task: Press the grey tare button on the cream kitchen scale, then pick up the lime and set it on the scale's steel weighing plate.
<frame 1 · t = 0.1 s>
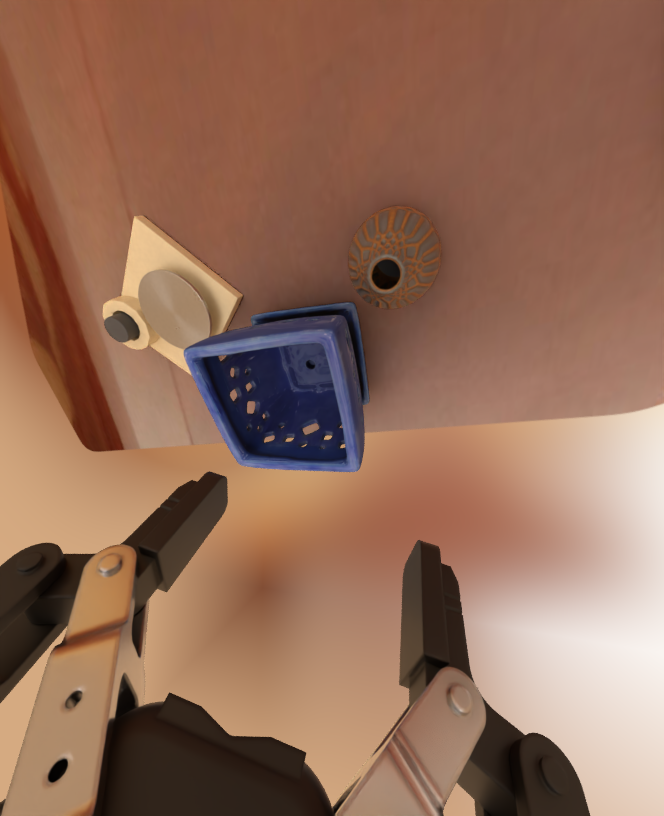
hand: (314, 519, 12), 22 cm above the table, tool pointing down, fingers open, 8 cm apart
scale: (178, 308, 34), on the table
flower pot: (317, 353, 33), on the table
vase: (397, 252, 25), on the table
weighing plate: (176, 311, 31), resting on scale
tare button: (122, 327, 34), point 3 cm above the table, slide at 0.1 cm
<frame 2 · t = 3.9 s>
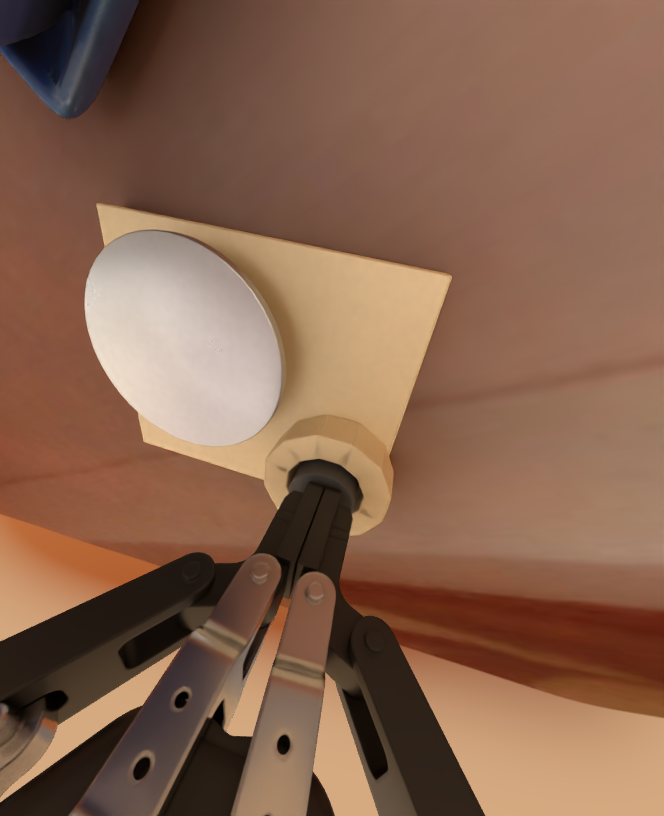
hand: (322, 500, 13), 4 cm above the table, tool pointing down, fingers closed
scale: (264, 373, 15), on the table
weighing plate: (187, 353, 12), resting on scale
tare button: (325, 486, 13), point 3 cm above the table, slide at -0.7 cm, touching gripper
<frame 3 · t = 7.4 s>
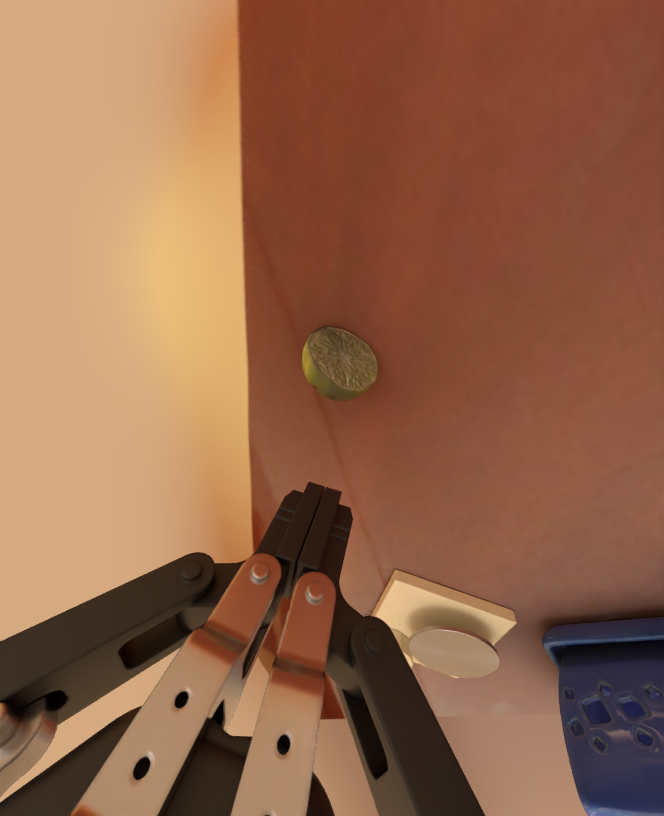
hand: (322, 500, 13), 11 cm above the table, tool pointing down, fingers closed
scale: (428, 622, 33), on the table
flower pot: (619, 645, 28), on the table
lime: (347, 353, 21), on the table
weighing plate: (451, 650, 29), resting on scale
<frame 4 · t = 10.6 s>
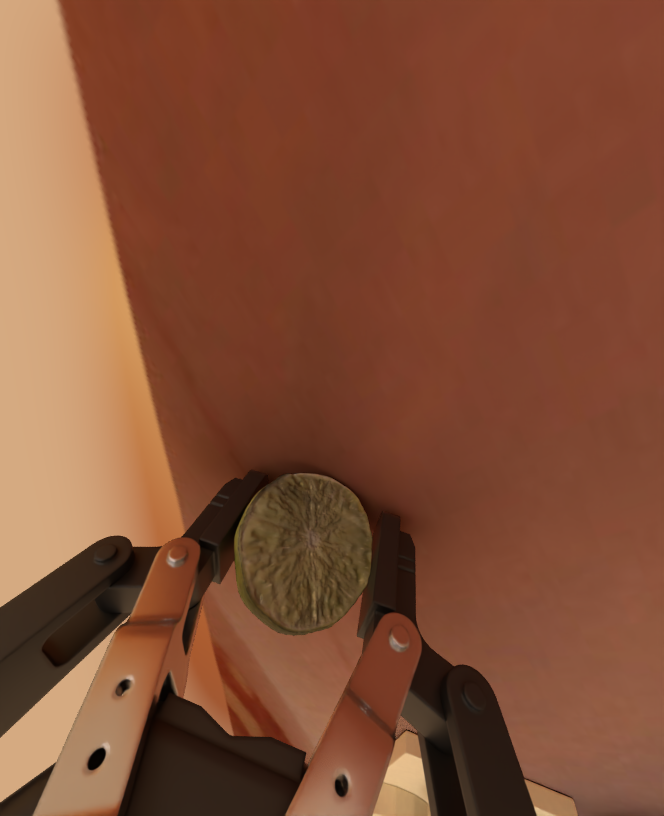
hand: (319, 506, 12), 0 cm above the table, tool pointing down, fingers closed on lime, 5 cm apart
scale: (450, 781, 25), on the table
lime: (323, 496, 13), on the table, touching gripper
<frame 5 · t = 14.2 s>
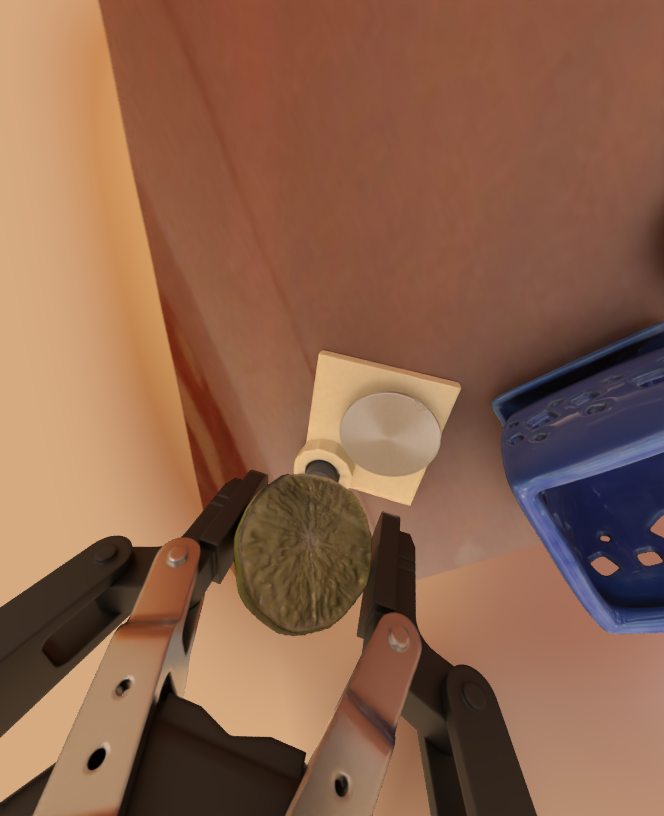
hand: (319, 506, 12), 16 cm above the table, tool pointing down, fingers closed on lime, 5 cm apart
scale: (370, 430, 28), on the table
flower pot: (587, 412, 23), on the table
lime: (323, 496, 13), point 15 cm above the table, touching gripper
weighing plate: (388, 435, 25), resting on scale
tare button: (320, 477, 28), point 3 cm above the table, slide at 0.1 cm
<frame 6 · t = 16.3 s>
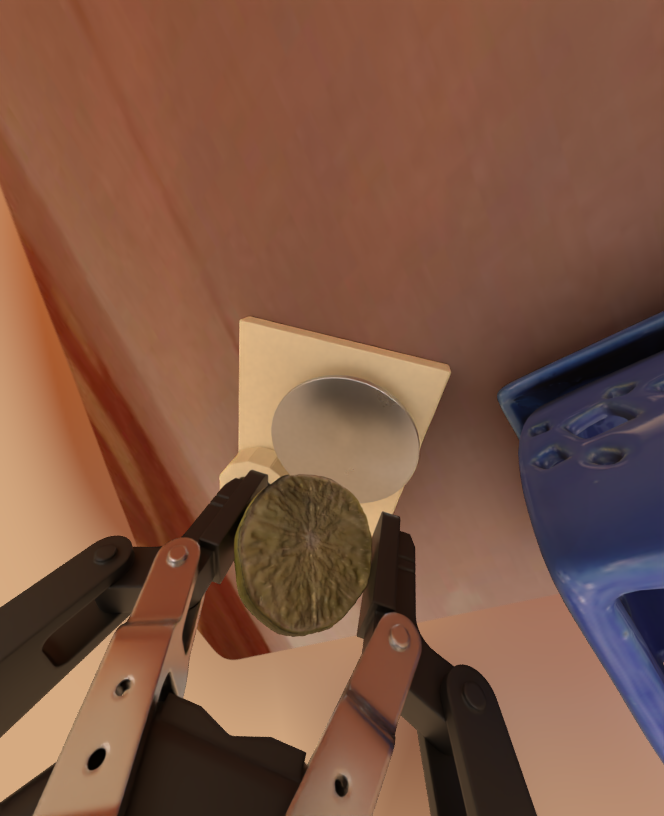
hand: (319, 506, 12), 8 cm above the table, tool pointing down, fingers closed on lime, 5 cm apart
scale: (325, 435, 20), on the table
flower pot: (645, 411, 15), on the table
lime: (323, 497, 13), point 7 cm above the table, touching gripper
weighing plate: (342, 443, 16), resting on scale
when the fingers open (4 cm above the table, at t = 17.7 s): lime stays where it is, resting on weighing plate.
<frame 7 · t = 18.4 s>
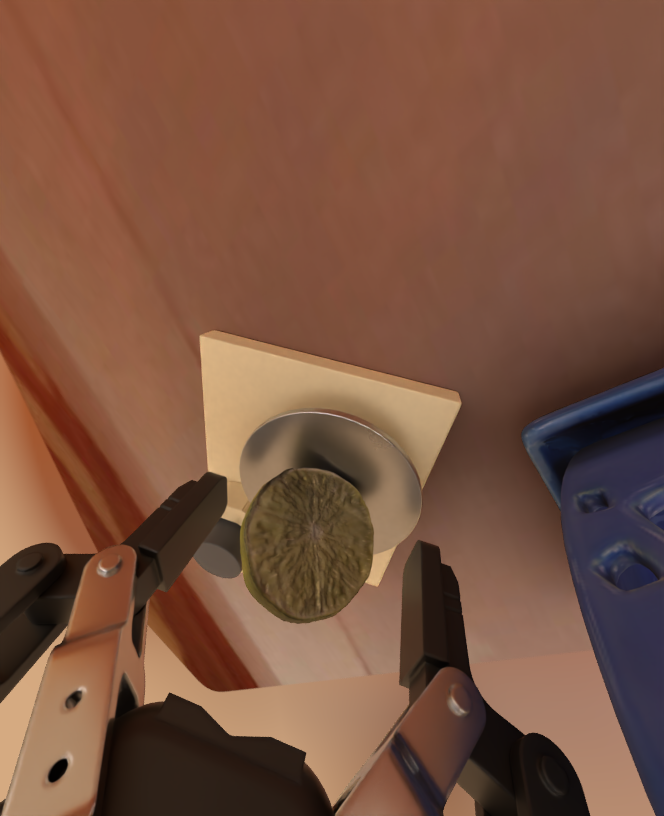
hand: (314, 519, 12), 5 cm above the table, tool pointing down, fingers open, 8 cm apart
scale: (310, 469, 17), on the table
lime: (326, 491, 13), point 3 cm above the table, touching weighing plate
weighing plate: (326, 488, 13), resting on scale
tare button: (224, 547, 17), point 3 cm above the table, slide at 0.1 cm
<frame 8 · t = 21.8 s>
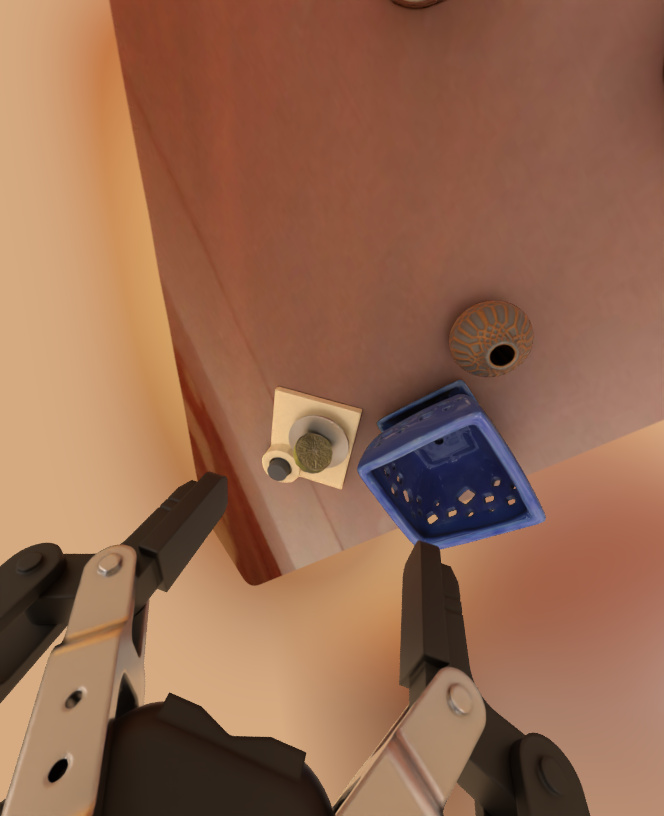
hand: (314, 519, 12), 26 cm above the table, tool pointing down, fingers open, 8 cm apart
scale: (312, 438, 43), on the table
flower pot: (437, 428, 37), on the table
vase: (480, 330, 31), on the table
lime: (318, 442, 39), point 3 cm above the table, touching weighing plate
weighing plate: (318, 441, 39), resting on scale
tare button: (279, 469, 43), point 3 cm above the table, slide at 0.1 cm
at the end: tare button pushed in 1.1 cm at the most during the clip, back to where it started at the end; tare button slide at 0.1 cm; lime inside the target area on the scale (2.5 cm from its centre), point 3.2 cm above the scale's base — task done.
